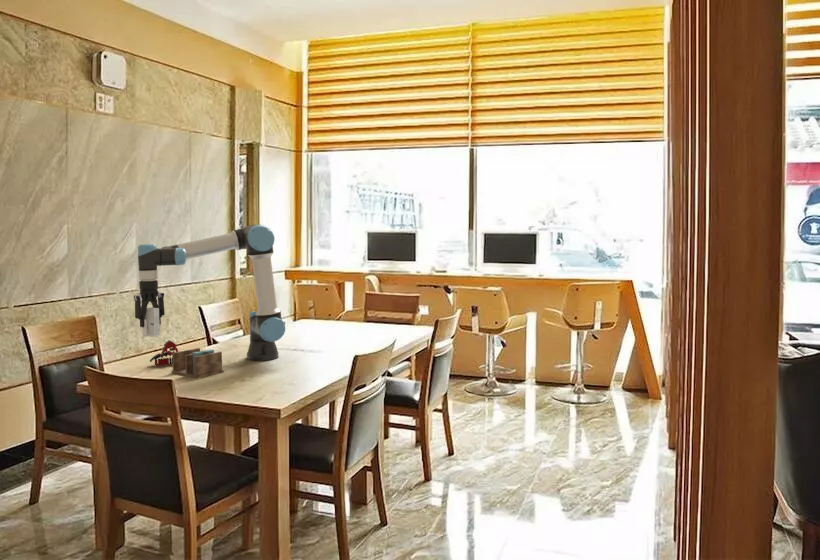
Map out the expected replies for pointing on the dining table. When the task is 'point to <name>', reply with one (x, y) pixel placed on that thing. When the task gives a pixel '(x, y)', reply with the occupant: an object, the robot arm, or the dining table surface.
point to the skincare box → (152, 322)
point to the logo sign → (165, 354)
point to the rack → (197, 363)
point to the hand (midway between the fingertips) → (150, 333)
